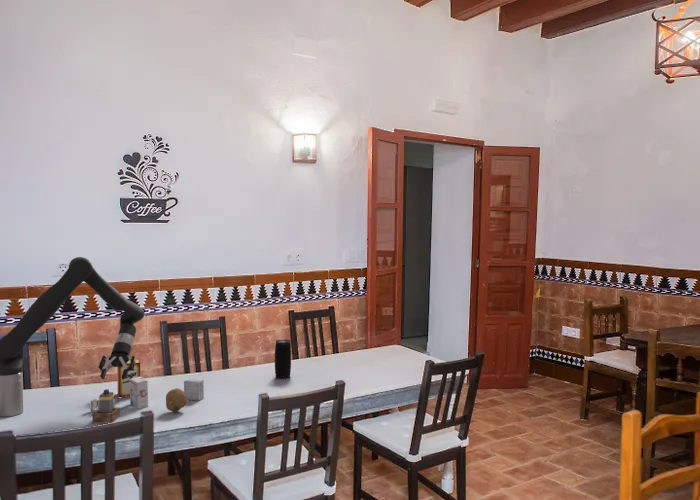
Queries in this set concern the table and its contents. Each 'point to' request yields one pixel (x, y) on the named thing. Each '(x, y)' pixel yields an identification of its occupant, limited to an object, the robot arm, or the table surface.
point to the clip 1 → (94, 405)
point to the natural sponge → (176, 400)
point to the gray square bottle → (106, 401)
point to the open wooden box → (106, 416)
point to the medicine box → (194, 389)
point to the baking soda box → (127, 378)
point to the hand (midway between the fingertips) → (112, 378)
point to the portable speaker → (282, 358)
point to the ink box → (139, 392)
